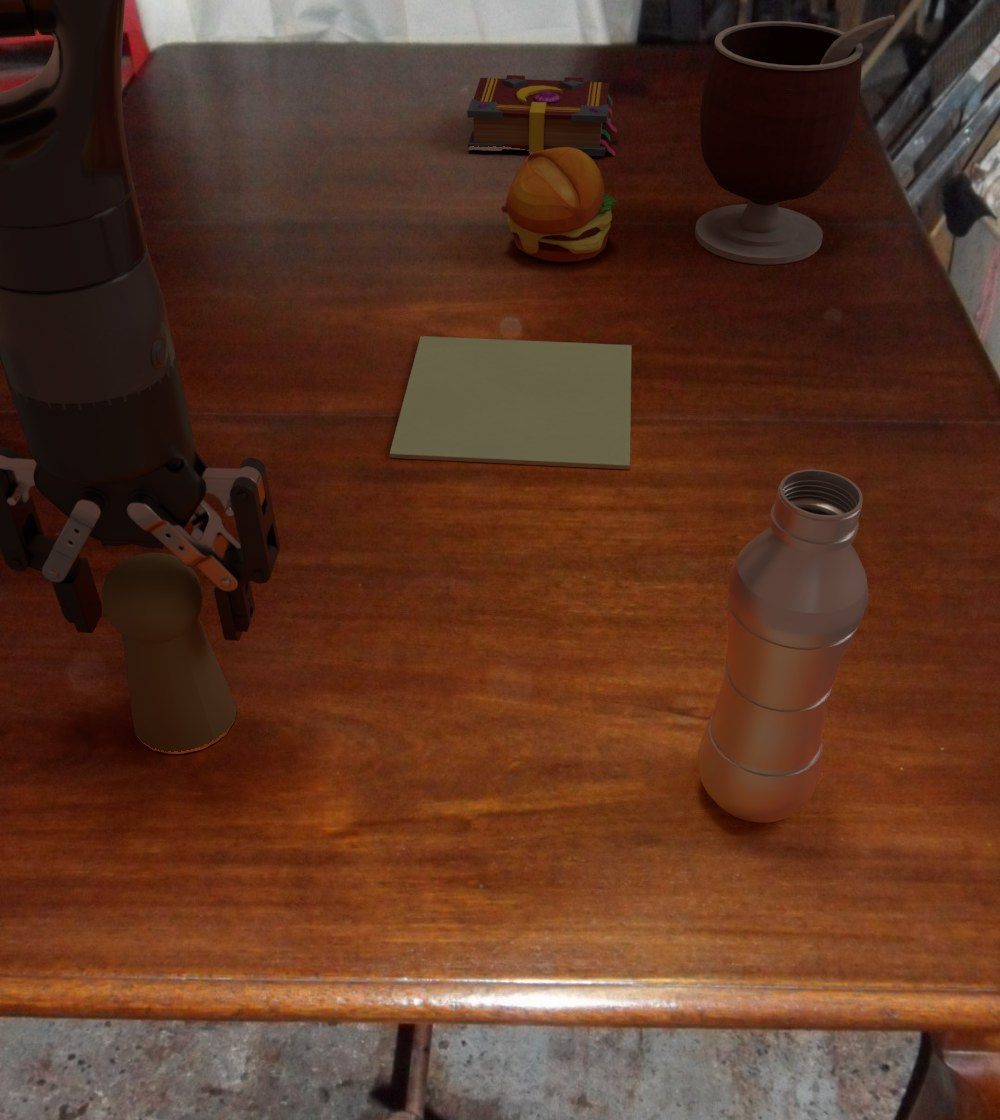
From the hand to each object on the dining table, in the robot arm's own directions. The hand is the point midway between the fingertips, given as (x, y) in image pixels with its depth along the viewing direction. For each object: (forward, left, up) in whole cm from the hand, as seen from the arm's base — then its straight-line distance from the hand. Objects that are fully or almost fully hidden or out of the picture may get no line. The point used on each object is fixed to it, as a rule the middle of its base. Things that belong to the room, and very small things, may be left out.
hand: (163, 626), depth 65 cm
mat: (+17, +37, -7) cm, 41 cm away
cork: (0, 0, -7) cm, 7 cm away
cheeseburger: (+19, +65, -7) cm, 68 cm away
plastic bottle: (+33, -3, -7) cm, 34 cm away
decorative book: (+16, +93, -7) cm, 95 cm away
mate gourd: (+39, +69, -7) cm, 80 cm away
